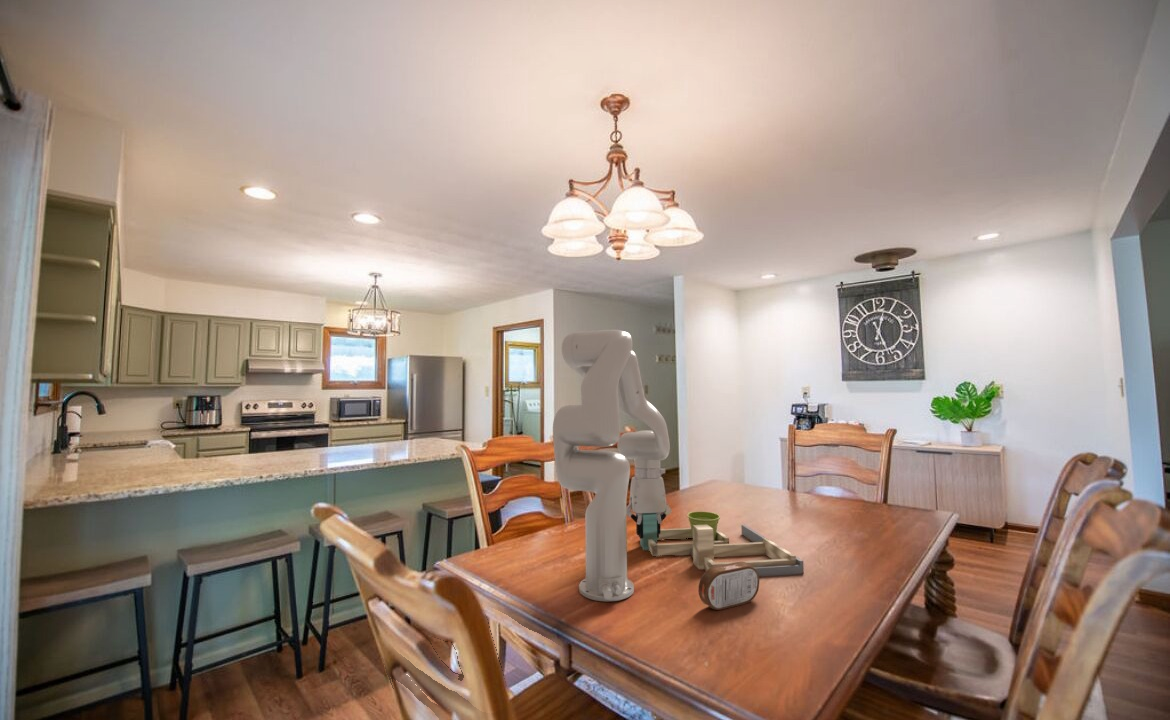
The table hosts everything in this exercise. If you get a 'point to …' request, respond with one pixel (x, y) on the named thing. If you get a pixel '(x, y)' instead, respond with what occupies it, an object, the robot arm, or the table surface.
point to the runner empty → (735, 550)
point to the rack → (771, 569)
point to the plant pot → (704, 520)
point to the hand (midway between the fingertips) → (648, 536)
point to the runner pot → (669, 548)
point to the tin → (728, 585)
